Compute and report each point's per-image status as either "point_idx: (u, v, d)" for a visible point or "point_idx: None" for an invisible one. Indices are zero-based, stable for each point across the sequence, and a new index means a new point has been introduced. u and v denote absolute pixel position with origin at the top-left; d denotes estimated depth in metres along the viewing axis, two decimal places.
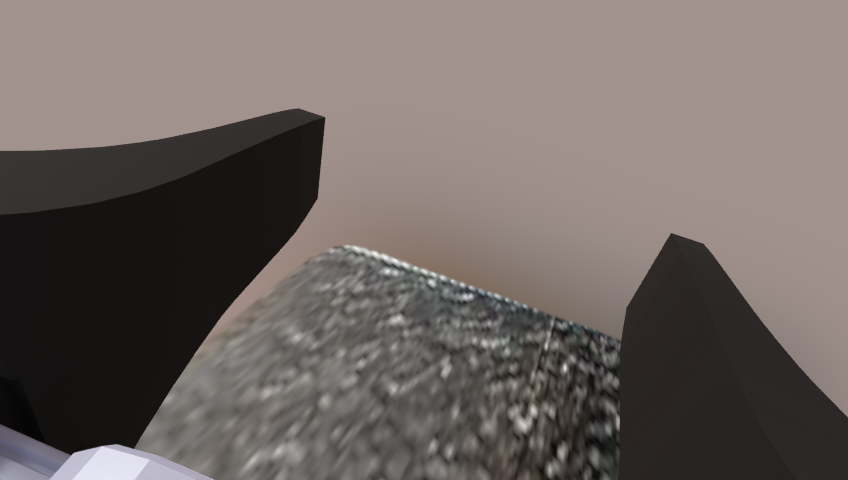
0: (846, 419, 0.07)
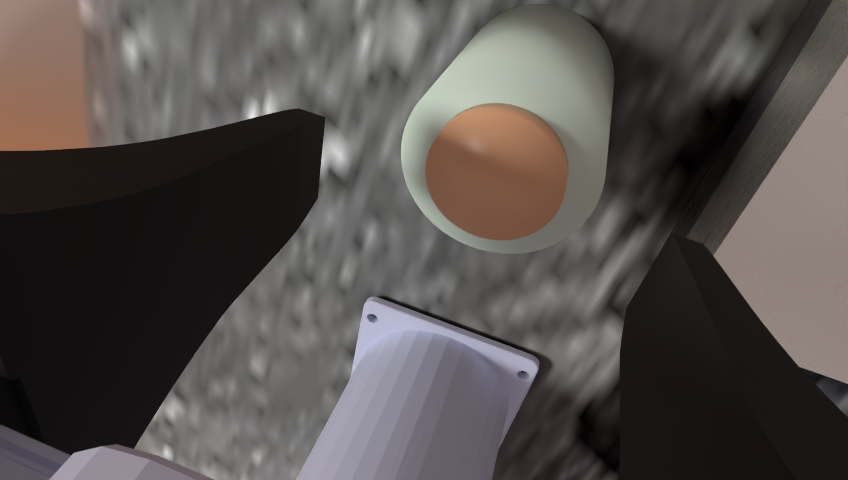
0: (846, 419, 0.07)
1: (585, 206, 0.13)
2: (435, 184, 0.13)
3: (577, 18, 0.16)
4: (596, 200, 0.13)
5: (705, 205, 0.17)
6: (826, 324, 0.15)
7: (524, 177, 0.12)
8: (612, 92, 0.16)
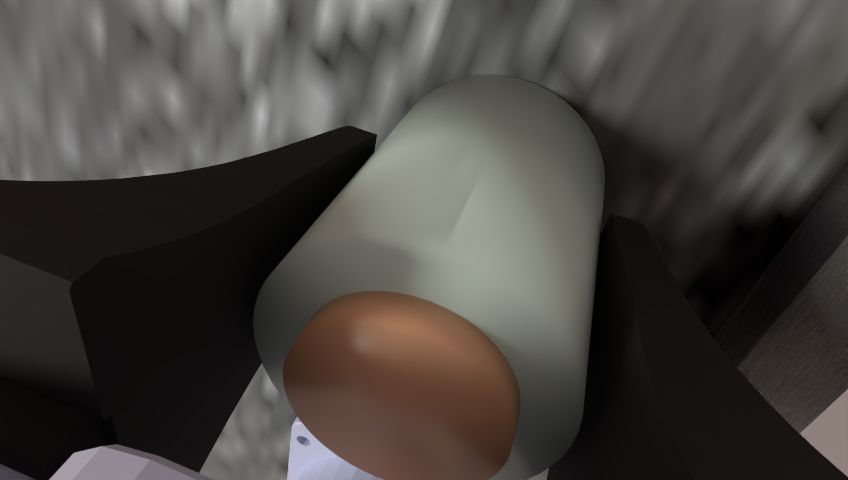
0: (747, 383, 0.07)
1: (550, 446, 0.08)
2: (303, 405, 0.08)
3: (549, 99, 0.11)
4: (569, 442, 0.08)
5: (736, 364, 0.12)
6: None
7: (442, 417, 0.07)
8: (600, 213, 0.11)
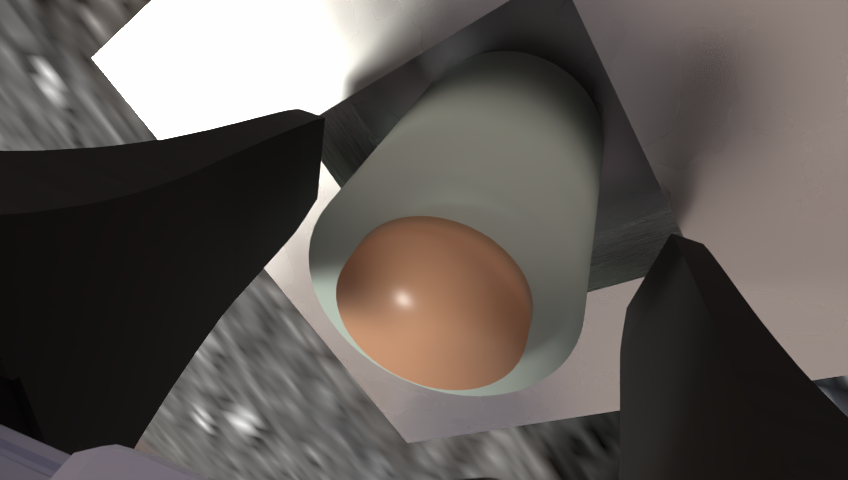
0: (846, 419, 0.07)
1: (552, 357, 0.10)
2: (349, 311, 0.10)
3: (563, 77, 0.12)
4: (568, 353, 0.09)
5: None
6: None
7: (469, 323, 0.09)
8: (600, 178, 0.12)
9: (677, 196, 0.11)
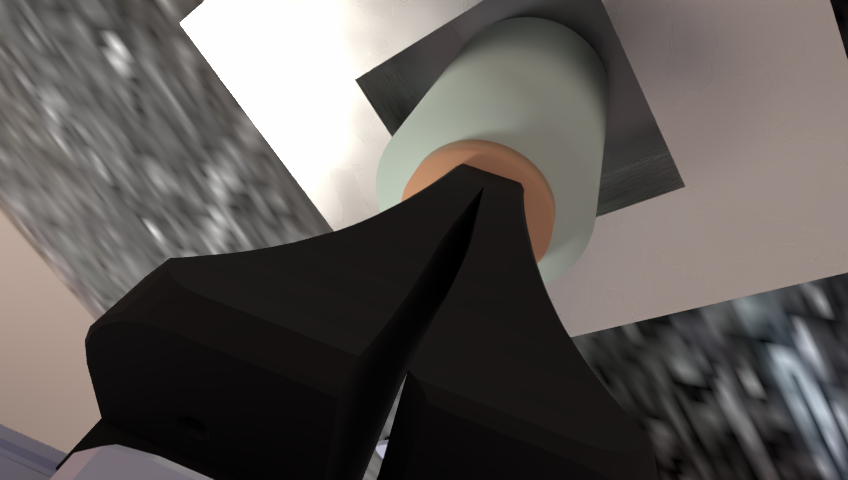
0: (552, 313, 0.07)
1: (568, 256, 0.12)
2: None
3: (578, 40, 0.15)
4: (581, 252, 0.12)
5: None
6: None
7: None
8: (606, 124, 0.15)
9: (670, 129, 0.14)
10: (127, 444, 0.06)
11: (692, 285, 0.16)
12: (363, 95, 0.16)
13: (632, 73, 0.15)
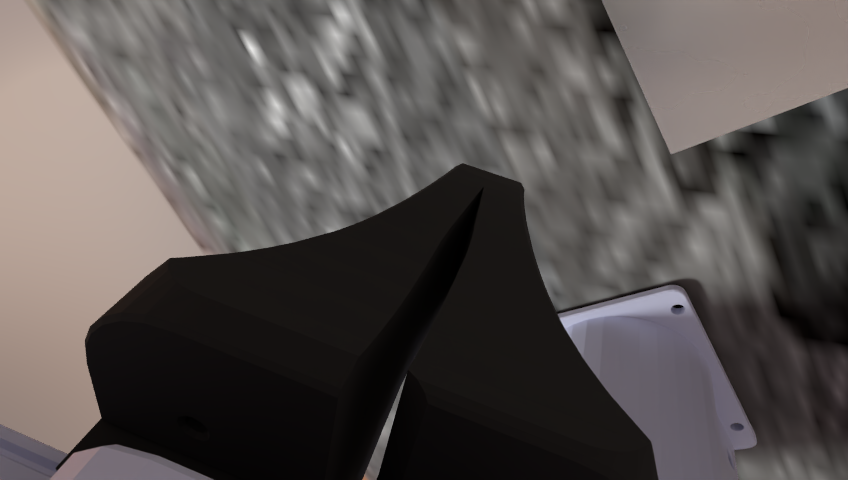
0: (552, 313, 0.07)
1: None
2: None
3: None
4: None
5: None
6: (796, 39, 0.13)
7: None
8: None
9: None
10: (127, 445, 0.06)
11: None
12: None
13: None
